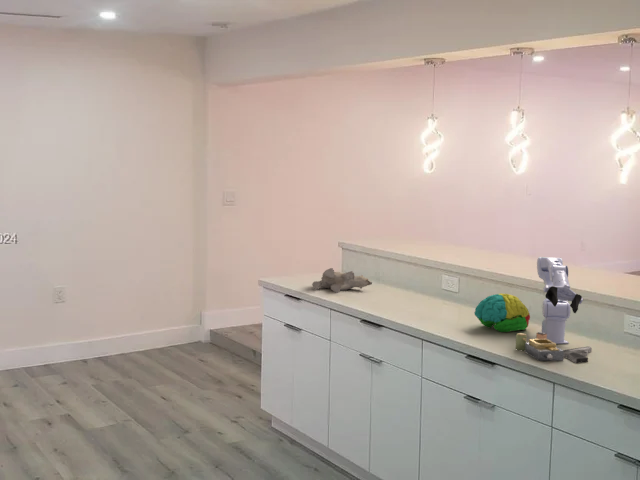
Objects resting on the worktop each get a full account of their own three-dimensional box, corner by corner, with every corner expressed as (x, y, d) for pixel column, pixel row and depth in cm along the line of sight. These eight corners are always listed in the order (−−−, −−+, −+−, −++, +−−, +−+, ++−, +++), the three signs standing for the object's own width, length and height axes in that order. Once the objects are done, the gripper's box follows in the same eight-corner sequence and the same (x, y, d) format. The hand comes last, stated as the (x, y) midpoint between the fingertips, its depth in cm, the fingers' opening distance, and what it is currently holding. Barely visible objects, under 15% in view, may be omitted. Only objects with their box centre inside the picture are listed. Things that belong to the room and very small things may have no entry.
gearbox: (524, 351, 274) (525, 338, 274) (547, 351, 276) (548, 338, 275) (542, 362, 260) (543, 349, 259) (566, 362, 262) (567, 348, 261)
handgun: (612, 359, 269) (586, 351, 279) (612, 354, 268) (587, 345, 279) (576, 364, 261) (551, 356, 271) (577, 359, 260) (552, 350, 271)
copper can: (533, 347, 282) (534, 331, 281) (543, 346, 282) (544, 331, 281) (538, 349, 278) (539, 334, 277) (547, 349, 278) (548, 334, 278)
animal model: (352, 259, 374) (367, 257, 389) (307, 275, 388) (323, 273, 403) (360, 287, 373) (375, 284, 388) (315, 301, 386) (331, 298, 401)
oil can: (513, 348, 279) (514, 332, 278) (523, 348, 280) (524, 332, 279) (519, 352, 274) (520, 336, 273) (529, 351, 274) (530, 336, 274)
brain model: (492, 335, 296) (496, 298, 295) (464, 325, 313) (467, 290, 312) (538, 333, 306) (542, 297, 305) (508, 323, 323) (511, 289, 322)
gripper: (548, 271, 277) (551, 292, 265) (584, 284, 277) (590, 305, 266) (539, 286, 281) (543, 307, 269) (575, 298, 281) (580, 320, 269)
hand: (565, 307), depth 268 cm, fingers open, 7 cm apart
